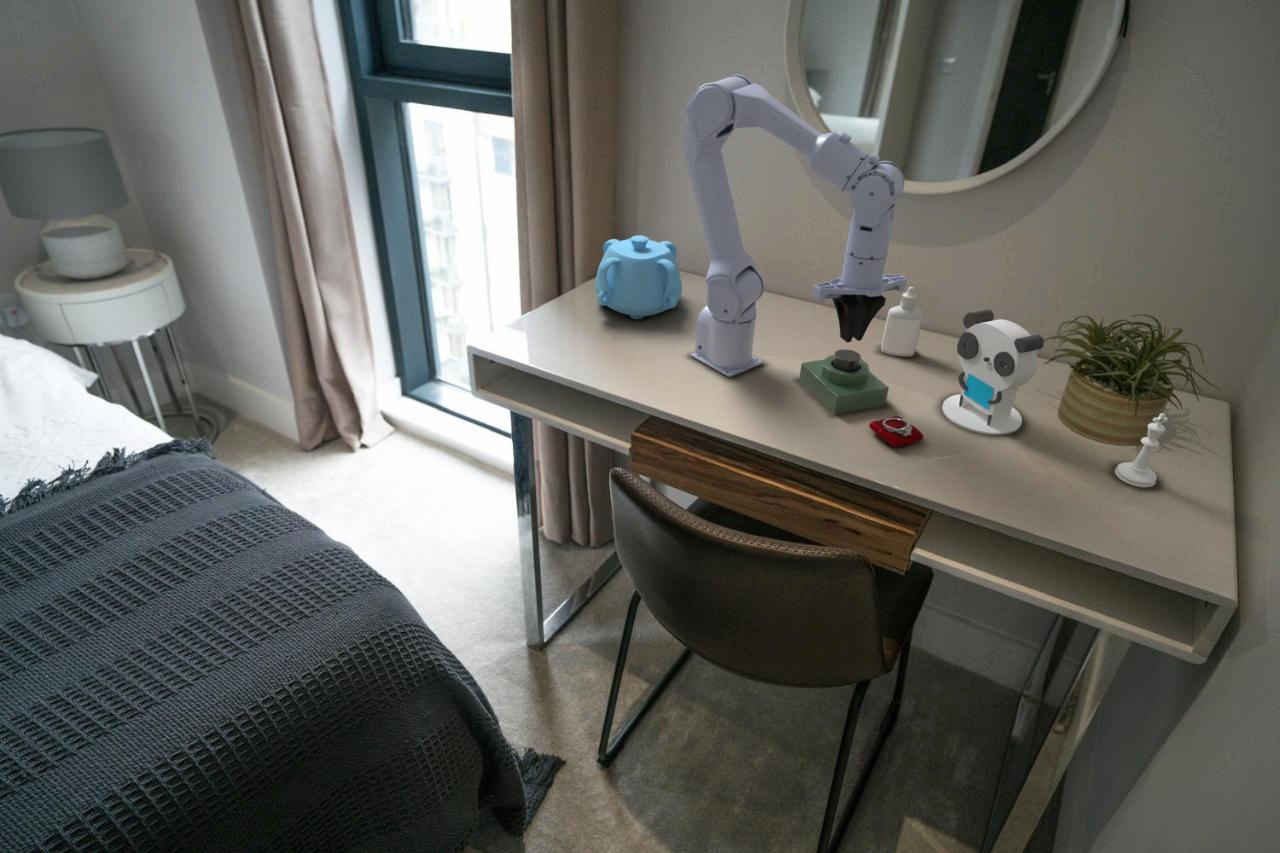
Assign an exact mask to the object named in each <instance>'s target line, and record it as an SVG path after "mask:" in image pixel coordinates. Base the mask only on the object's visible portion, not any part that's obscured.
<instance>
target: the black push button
mask: <svg viewBox="0 0 1280 853" xmlns="http://www.w3.org/2000/svg"><path fill="white" fill-rule="evenodd" d="M833 355H834V360H833V367H834V368H835V369H837V370H840V371H844V372H855V371H858V370H859V365H860V360H861V359H862V356H861V354H860V353H859V352H857V351H855V350H852V349H845V348H844V349H839V350H836V351H835V352H834V353H833Z"/></svg>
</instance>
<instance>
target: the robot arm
mask: <svg viewBox="0 0 1280 853" xmlns="http://www.w3.org/2000/svg"><path fill="white" fill-rule="evenodd" d="M685 110H686V115H687V119H686V124H685V131H684V136H683V141H682V149H683V154H684V159H685V162H686V166H687V170H688V175H689V179H690V183H691V187H692V190H693V195H694V199H695V203H696V206H697V211H698V214H699V218H700V222H701V226H702V231H703V235H704V238H705V243H706V246H707V250H708V255H709V258H710V263H709V266H708V271H707V274H706V278H705V281H706V284H707V293H706V298H705V300H706V306H705V307H703V309H702V310H701V311H700V313H699V314H698V317H697V321H696V330H695V331H696V332H695V346H694V352H691V354H690V356H691V357H692V358H694V359H696V360H697V361H699V362H701V363H703V364H705V365H707V366H708V367H709V368H712V369H713V370H715V371H717V372H718V373H721V374H722V375H724V376H726V377H729V378H730V377H731V378H732V377H733V376H736V375H739V374H741V373H744V372H746V371H748V370H750V369H751V370H752V369H753V368H755V367H758V366H760V365H762V364H763V360H762V359H761V358H758V357H756V356H754V355H753V348H754V339H755V332H756V331H755V330H756V322H757V321H756V320H757V312H758V311H757V308H756V304H757V301H759V299H761V298H762V296H763V294H764V292H765V280H764V277H763V276H762V274H761V273H760V271H759V270H758V269H757V266H756V265H755V260H754V258H753V256H752V255H750V254H749V253H748V252H747V251H746V250H745V247H744V243H743V239H742V235H741V230H740V226H739V221H738V217H737V214H736V208H735V205H734V200H733V196H732V191H731V188H730V187H731V186H730V182H729V177H728V174H727V170H726V166H725V161H724V156H723V153H722V148H724V145H725V144H726V142H727V141H728V139H729V138H730V136H731V134H732V133H733V131H734V130H735V129H745V128H761V129H762V130H764V131H766V132H767V133H769V134H771V136H774V137H775V138H778V139H779V140H780V141H782V142H784V143H785V144H787V145H789V146H791V147H792V148H793V149H795V150H797V151H799V152H800V153H802V154H803V155H805V156H806V158H807V163H808V167H809V170H811V171H812V172H814V173H815V174H817V175H819V176H820V177H821V178H823V179H824V180H825V181H827V182H828V183H830V184H831V185H833V186H834V187H836V188H837V189H838V190H840V191H841V192H842V193H844V194H846V195H849V199H850V202H851V205H852V206H853V211H852V217H851V220H850V225H849V231H848V237H847V242H846V249H845V255H844V260H843V267H842V273H841V276H838V277H836V278H834V279H830V280H828V281H825V282H821V283H817V284H813V287H812V288H813V289H812V295H811V296H812V298H813V299H815V301H817V302H818V303H823V302H825V301H826V300H830V299H832V302H833V304H834V307H835V310H836V314H837V318H838V319H837V320H838V324H839V335H840V336H839V337H840V339H842V340H843V341H844V342H846V343H851V342H852V340H853V338H854V339H855V340H856V341H857V342H859V341H862V340H863V338H864V335H865V334H866V332H867V330H868V328H869V326H870V324H871V323H872V321H873V319H874V318H875V316H876V315H877V314H878V313H879V311H880V310H881V309H882V308H883V307H885V305H886V301H887V300H886V299H887V298H886V297H885V296H883V295H882V293H884V292H890V291H891V292H892V291H897V292H904V291H905V290H906V286H907V282H908V278H907V277H905V276H904V275H902V274H900V273H895V274H884V272H885V267H886V262H887V257H888V253H889V249H890V248H889V247H890V243H891V237H892V232H893V228H894V218H895V213H896V206H897V204H896V203H895V202H896V201H897V200H898V199H899V198H900V197H901V195H902V193H903V191H904V188H905V177H904V174H903V172H902V170H901V169H900V168H899V167H898V166H897V165H896V164H895V162H893V161H890V160H881V159H880V156H878V155H877V154H873V155H870V153H867V152H866V151H864V150H863V149H861V148H860V147H858V146H857V145H855V144H854V143H852V142H851V140H852V136H851V135H850V134H848V133H846V132H843V133H841V134H839V133H838V132H836V131H832V132H827V133H821V132H820V131H818V130H817V129H816V128H815V127H813V126H811V125H810V124H809V123H808V122H806V121H805V120H804V119H802V117H800V116H799V115H798V114H796V113H795V112H794V111H792V110H790V109H789V107H787V106H786V105H784V104H783V103H782V102H780V101H779V100H778V99H776V98H775V97H774V96H772V95H771V94H770V93H769V92H768V91H767V90H766V89H765V88H764V87H763V86H761V85H760V84H758V83H756V82H752V81H751V80H750V79H749V78H748V77H746V76H745V75H742V74H731V75H729V76H727V77H725V78H723V79H719V80H716V81H713V82H708V83H704V84H702V85H701V86H699V87H698V88H697V89H696V91H695V92H694V93H693V95H692V96H691V98H690V99H689V101H688V102H687V104H686V106H685Z"/></svg>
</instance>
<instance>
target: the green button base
mask: <svg viewBox="0 0 1280 853" xmlns="http://www.w3.org/2000/svg"><path fill="white" fill-rule="evenodd" d="M833 360H834V354H832V355H828V356H826V357H825V358H823V359H819V360H818V359H817V360H811V361H806V362H801V364H800V372H799V378H798V379H799V382H800V383H801V384H802V385H803V386H804V387H805V388H806V389H807V390H808V391H810V392H811V394H813V396H815V397H816V399H818V400H819V401H820V402H821V403H822V404H823V405H824V406H825V407H826V408H827V409H828V410H829V412H831V413H832V414H833V415H838V414H843V413H844V414H845V413H849V412H854V411H861V410H866V409H872V408H876V407H877V408H878V407H882V406H886V403H887V398H888V394H889V390H890V389H889V388H890V387H889V385H887V384H886V383H884V382H883V381H882V380H881V379H879V378H878V376H876V375H875V374H873V373H872V372H871V371H870V366H869V364H868V363H867V361H865V360H864V359H862V358H861V360H860V365H859V370H858V371H855V372H844V371H840V370H837V369H835V368H834V367H833Z"/></svg>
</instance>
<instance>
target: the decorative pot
mask: <svg viewBox="0 0 1280 853" xmlns="http://www.w3.org/2000/svg"><path fill="white" fill-rule="evenodd" d="M602 247H603V249H602V254H603V257H602V259H601V261H600V263H599V266H598V269H597V273H596V277H595V286H594V287H595V292H596V294H597V297H596V300H597V303H598V304H599V305H601V306H607V307H608V308H610V309H611V310H613V311H615V312H618V313H620V314H624V315H627V316H629V317H630V318H631V319H634V320H642V319H643V318H644V317H649V316H653V315H656V314H660V313H662V312H665V311H667V310H669V309H674V308H675V307H676V306H677V305H678V301H679V300H680V299H681V297H682V293H683V284H682V282H683V281H682V276H681V273H680V269H679V267H678V264H677V262H676V259H677V246H676V245H675V244H674V243H673V242H671V241H668V240H662V241H660V242H658V241H655V240H653V239H649V237H648V236H645V235H633V236H632V237H630V238H627V239H624V240H619V239H617V238H612V239H609V240H607V241H605V242H604V244H603V246H602Z"/></svg>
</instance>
